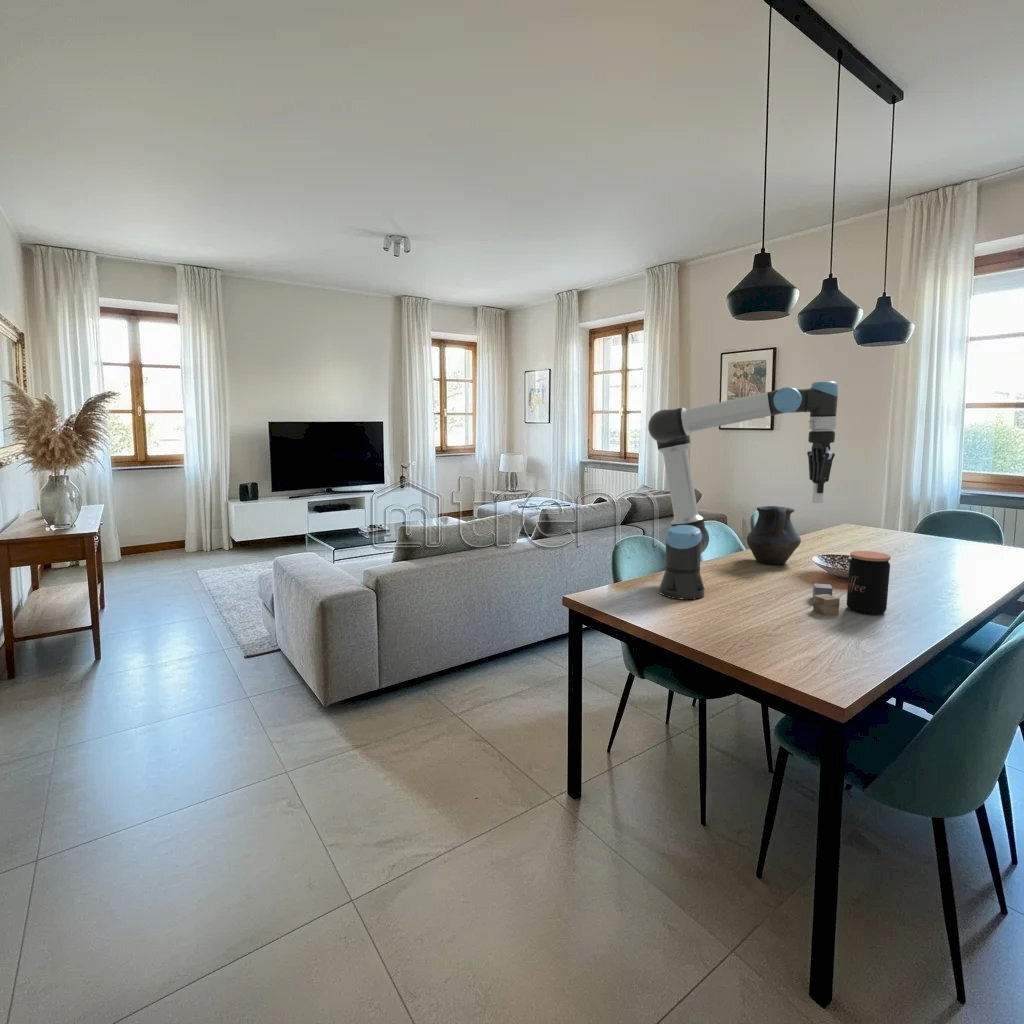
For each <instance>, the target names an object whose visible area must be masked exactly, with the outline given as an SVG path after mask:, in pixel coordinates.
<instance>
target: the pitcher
mask: <svg viewBox="0 0 1024 1024" xmlns="http://www.w3.org/2000/svg"><path fill="white" fill-rule="evenodd" d="M756 510H757V512H758V517H757V520H756V522H755V525H754V527H753V528H752V530H751V531H750V532H749V533H748V535H747V537H746V543H747V545H748V547H749V550H750V551H751V553H752V555H753V557H754V559H755V560H756V562H759V563H762V564H766V565H775V566H776V565H777V566H782V565H784V564H786V563H787V562H788V560H789V559H790V558H791V556H792V555H793V554H794V552H795V551H796V550H797V548H798V547H799V546H800V545H801V543H802V538H801V536H800V535H799V534H798V532H797V530H796V528H795V527H794V525H793V523H792V519H791V514H792V513H794V512H795V509H794V508H792V507H791V508H790V507H786V506H778V505H777V506H775V505H768V506H767V505H766V506H757V507H756Z"/></svg>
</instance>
